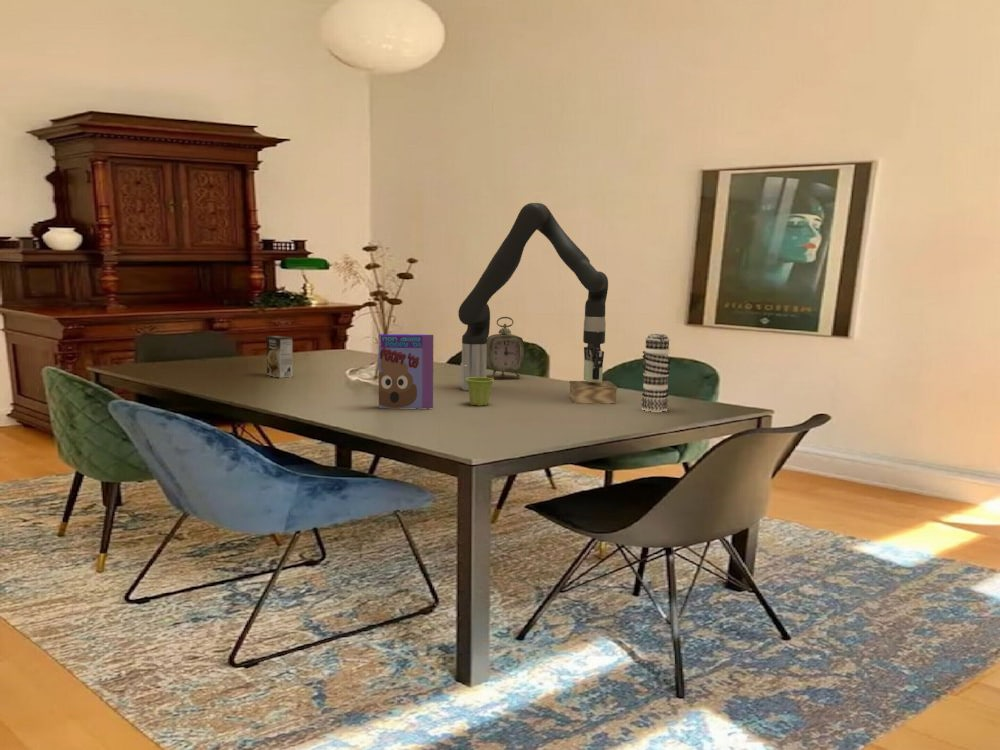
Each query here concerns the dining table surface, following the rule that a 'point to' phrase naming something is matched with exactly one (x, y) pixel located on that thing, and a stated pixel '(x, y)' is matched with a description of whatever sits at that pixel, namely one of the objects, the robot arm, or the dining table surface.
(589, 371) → the sage block
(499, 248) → the robot arm
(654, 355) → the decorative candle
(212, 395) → the dining table surface
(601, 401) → the oak box
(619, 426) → the dining table surface
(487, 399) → the plant pot
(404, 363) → the cereal box
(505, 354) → the tabletop clock
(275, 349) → the coffee box
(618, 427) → the dining table surface
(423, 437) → the dining table surface
